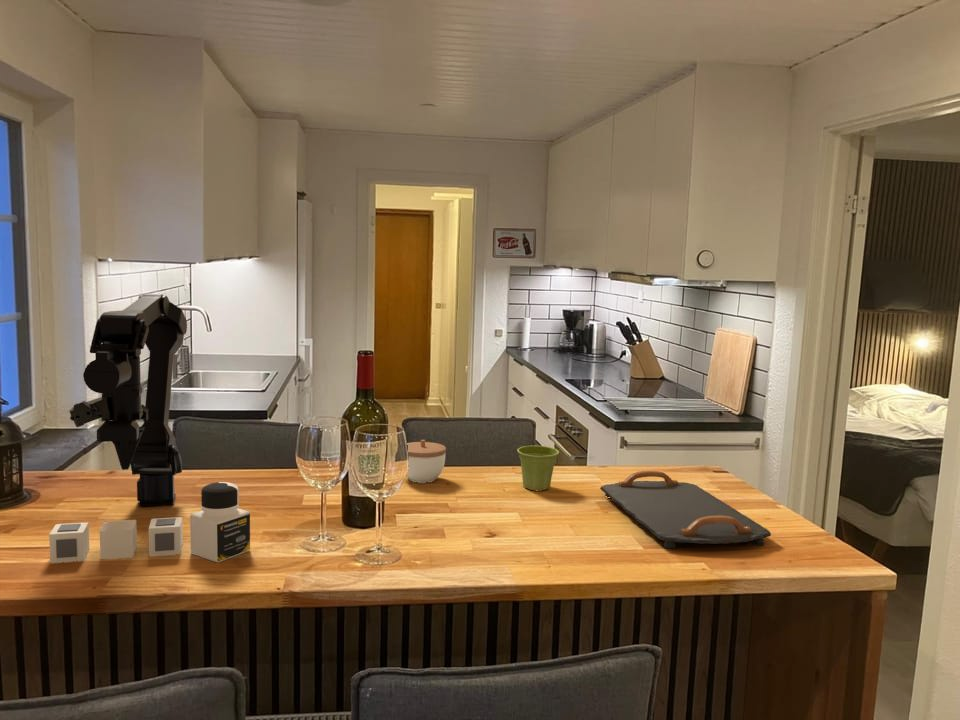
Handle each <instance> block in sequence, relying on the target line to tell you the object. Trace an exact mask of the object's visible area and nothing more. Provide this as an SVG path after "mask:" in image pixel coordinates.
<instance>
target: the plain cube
mask: <svg viewBox="0 0 960 720" xmlns="http://www.w3.org/2000/svg"><path fill="white" fill-rule="evenodd" d="M137 533H138V532H137V519H124V520H123V519H122V520H109V521H104V522H103V524H102V526H101V528H100V530H99V550H100V551H99V555H100V557H99V558H100V561H102V560H101V559H107V560H117V558H121V559H131V558H132V559H134V557H133V556H135V553H136V550H137V547H138V545H137V544H138V541H137V539H138V537H137ZM114 558H115V559H114Z"/></svg>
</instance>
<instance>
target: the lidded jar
mask: <svg viewBox="0 0 960 720" xmlns="http://www.w3.org/2000/svg"><path fill="white" fill-rule="evenodd" d="M407 445H408V453H409V471H408V475H407V476H406V477H407V478H408V481H409V480H410V481H409V482H411V481H412V482H411V483H414V482H418V483H417V484H427V483H426V482H431V483H433V482H432V481H434V480H435V481H436V479H437V478H438V477H439V476H440V475H441V474H442V472H443V470H444V467H445V463H446V452H447V447H446V446H445V445H444V444H441V443H438V442H432V441H431V442H430V441H426V439H420V441H413V442H407ZM435 481H434V482H435Z"/></svg>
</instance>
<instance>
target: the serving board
mask: <svg viewBox="0 0 960 720" xmlns="http://www.w3.org/2000/svg"><path fill="white" fill-rule="evenodd" d="M650 477H651V478H652V477H653V478H662V479H664V480H636V479H641V478H650ZM599 490H601V492H604V496H607V497H610V498H609V499H611V500H612V501H613V502H614V503H616V504H617V505H619V506H620V507H621V508H622V510H624V511H625V512H626V513H627V514H629V515H630V516H632V517H633V518H634V519H635V520H636V522H637V523H639V524H641V525H643V526H644V528H646V529H647V530H648V531H649V532H650V533H652V534H653V535H654V536H655V537H656V538H658V539H659V540H661V541H664V543H663V546H664V549H666V550H670V551H671V550H675V549H676V547H677V543H681V544H682V543H683V544H687V543H688V544H701V545H702V544H703V545H704V544H705V545H707V544H709V545H710V544H711V545H721V544H738V543H746V542H752V544H753V545H755V546H764V545H765V543H766V542H765V538H768V537H771V535H772V533H771V531H770V530H768V528H765V527H764V526H763V525H761V524H760V523H757V522H755V521H754V520H753V519H752V518H750V517H748V516H746V514H745V515H744V514H743V513H741V512H740V511H738V510H737V509H736V508H734V507H732V506H731V505H729V504H727V503H726V502H725V501H722V500H721V499H720V498H717V497H716V496H715V495H713V494H712V493H709V492H708V491H706V490H704V489H703V488H701V487H700V486H698V485H697V484H694V483H689V482H683V481H681V482H680V481H678V480H676V479H672V478H671V477H670V475H668V474H667V473H665V472H663V471H658V470H641V471H636V472H633V473H631V474H630V475H629V476H627V477H626V478H625V480H623V481H618V482H616V483H610V484H609V483H607V484H604V485H602V486H600V488H599Z"/></svg>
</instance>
